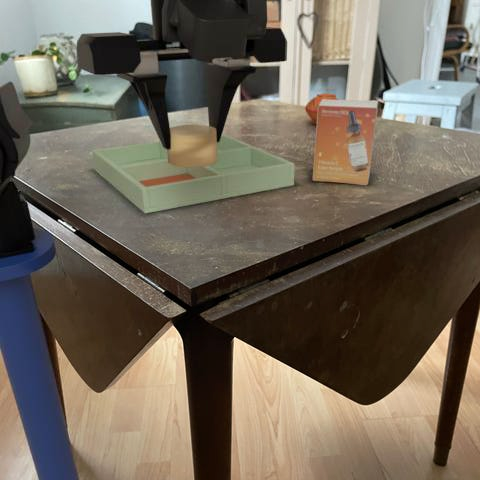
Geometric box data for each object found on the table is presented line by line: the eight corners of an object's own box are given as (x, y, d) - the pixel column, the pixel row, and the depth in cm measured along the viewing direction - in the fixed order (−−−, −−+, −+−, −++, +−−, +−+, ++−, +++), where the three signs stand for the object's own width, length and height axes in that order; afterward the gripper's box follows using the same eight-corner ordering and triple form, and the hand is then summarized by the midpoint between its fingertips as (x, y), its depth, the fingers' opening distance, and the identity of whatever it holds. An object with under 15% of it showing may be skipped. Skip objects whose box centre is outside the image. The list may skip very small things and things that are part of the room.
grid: (144, 213, 68) (142, 189, 66) (94, 170, 84) (91, 150, 83) (294, 185, 77) (295, 163, 75) (221, 151, 93) (221, 132, 92)
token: (179, 170, 52) (177, 138, 50) (160, 158, 56) (158, 128, 54) (226, 163, 54) (225, 131, 52) (204, 152, 57) (203, 122, 56)
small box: (311, 182, 78) (316, 104, 72) (316, 171, 82) (321, 97, 77) (368, 185, 76) (377, 106, 71) (370, 174, 81) (378, 99, 75)
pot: (294, 125, 109) (300, 89, 107) (319, 128, 114) (325, 94, 112) (323, 129, 104) (331, 92, 101) (348, 133, 109) (356, 97, 107)
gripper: (98, -52, 36) (126, 180, 44) (327, -47, 43) (315, 150, 51) (61, -43, 44) (90, 150, 52) (258, -40, 52) (257, 128, 60)
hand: (191, 145), depth 54 cm, fingers closed on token, 5 cm apart
